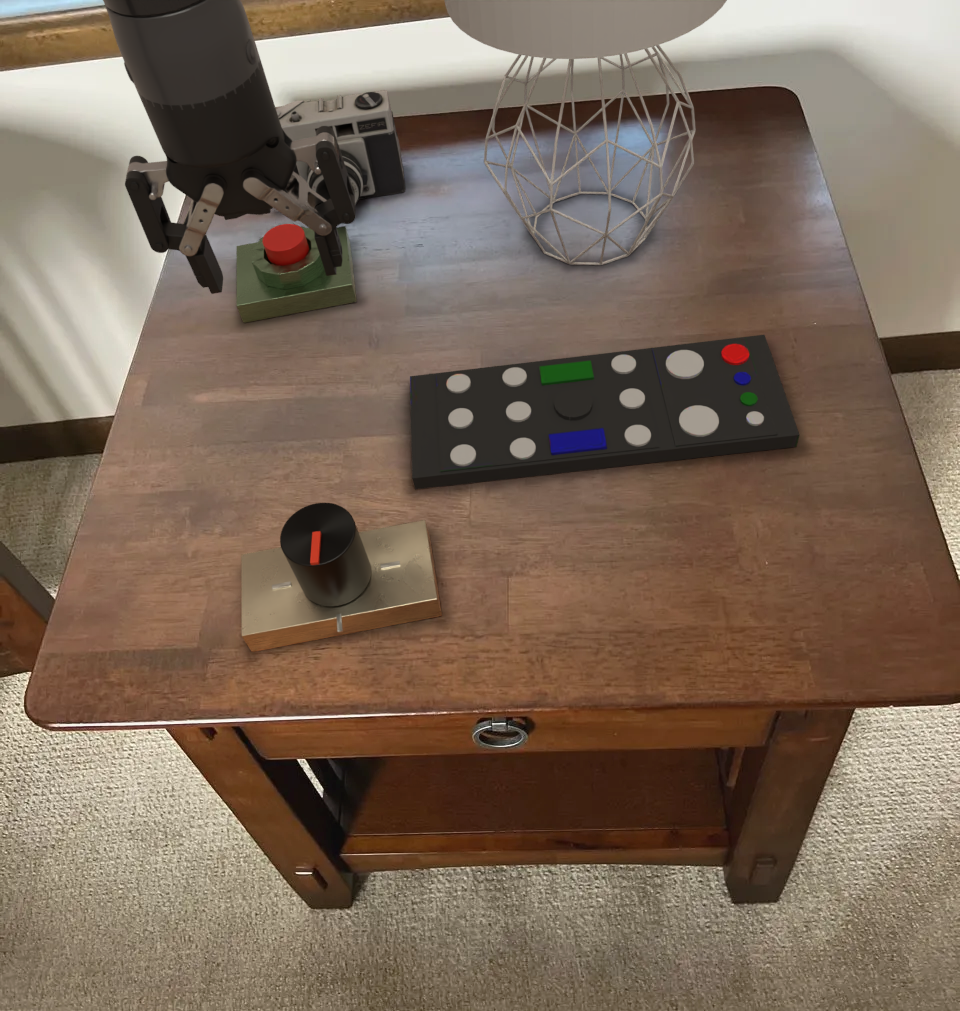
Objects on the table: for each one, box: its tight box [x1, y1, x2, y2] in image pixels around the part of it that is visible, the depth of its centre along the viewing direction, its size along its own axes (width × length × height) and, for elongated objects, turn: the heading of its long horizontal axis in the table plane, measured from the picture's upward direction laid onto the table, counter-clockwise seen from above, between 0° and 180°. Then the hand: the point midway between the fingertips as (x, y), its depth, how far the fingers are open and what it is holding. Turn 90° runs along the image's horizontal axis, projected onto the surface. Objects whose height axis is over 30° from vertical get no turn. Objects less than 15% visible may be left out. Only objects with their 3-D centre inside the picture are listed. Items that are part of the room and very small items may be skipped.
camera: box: [275, 89, 406, 206], centre depth 93 cm, size 14×9×10 cm, turn 89°
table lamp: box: [444, 0, 728, 266], centre depth 74 cm, size 22×22×40 cm
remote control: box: [409, 334, 800, 490], centre depth 75 cm, size 11×30×2 cm, turn 94°
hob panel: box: [240, 519, 443, 653], centre depth 67 cm, size 14×9×3 cm
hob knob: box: [279, 502, 371, 606], centre depth 64 cm, size 5×5×6 cm
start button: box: [262, 223, 309, 266], centre depth 86 cm, size 4×4×2 cm
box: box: [235, 225, 358, 324], centre depth 89 cm, size 11×9×4 cm
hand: (274, 277), depth 67 cm, fingers open, 8 cm apart
